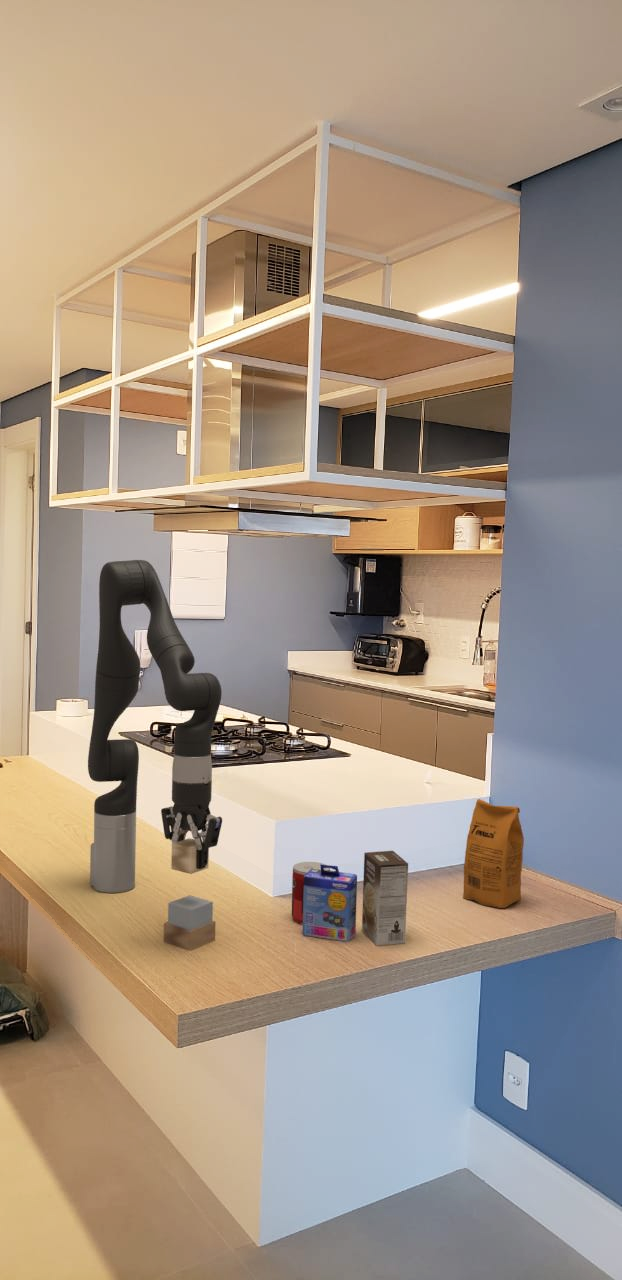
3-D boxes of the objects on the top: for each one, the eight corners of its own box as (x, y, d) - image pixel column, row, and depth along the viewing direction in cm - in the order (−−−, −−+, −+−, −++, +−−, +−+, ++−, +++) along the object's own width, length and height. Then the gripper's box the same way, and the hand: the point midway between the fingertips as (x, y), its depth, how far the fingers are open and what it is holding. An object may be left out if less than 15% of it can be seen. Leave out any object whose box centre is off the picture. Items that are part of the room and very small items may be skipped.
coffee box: (360, 929, 201) (362, 851, 200) (390, 927, 203) (392, 849, 202) (376, 946, 192) (378, 864, 191) (407, 943, 194) (409, 862, 193)
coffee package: (481, 888, 230) (485, 794, 228) (527, 902, 221) (531, 804, 220) (454, 897, 223) (458, 800, 222) (501, 912, 214) (505, 811, 213)
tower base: (163, 943, 191) (163, 923, 191) (187, 933, 197) (188, 913, 197) (190, 952, 187) (191, 931, 187) (215, 941, 193) (215, 921, 193)
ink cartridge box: (300, 936, 196) (302, 863, 195) (308, 927, 202) (310, 856, 201) (349, 942, 194) (351, 869, 193) (356, 933, 199) (358, 861, 198)
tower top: (167, 923, 191) (168, 902, 190) (189, 915, 196) (189, 895, 195) (191, 930, 187) (191, 909, 187) (212, 922, 192) (212, 901, 192)
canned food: (307, 910, 212) (308, 859, 211) (336, 919, 207) (338, 867, 206) (283, 919, 206) (284, 866, 205) (313, 928, 201) (314, 875, 200)
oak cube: (171, 869, 190) (171, 843, 190) (189, 863, 195) (189, 838, 194) (190, 874, 188) (191, 847, 187) (208, 868, 192) (209, 842, 191)
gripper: (150, 775, 191) (149, 862, 192) (207, 785, 183) (205, 877, 184) (177, 769, 197) (175, 854, 198) (233, 779, 189) (231, 868, 190)
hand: (190, 864), depth 191 cm, fingers closed on oak cube, 5 cm apart
